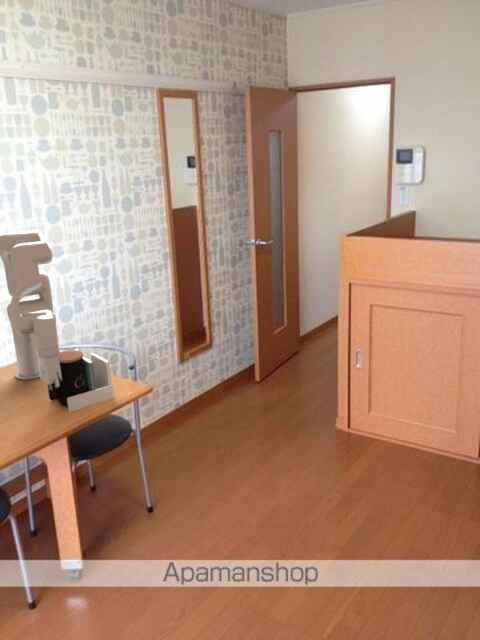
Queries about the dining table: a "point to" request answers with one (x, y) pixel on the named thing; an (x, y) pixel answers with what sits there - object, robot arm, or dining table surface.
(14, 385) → the dining table surface
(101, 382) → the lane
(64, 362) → the coffee jar
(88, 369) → the plate
